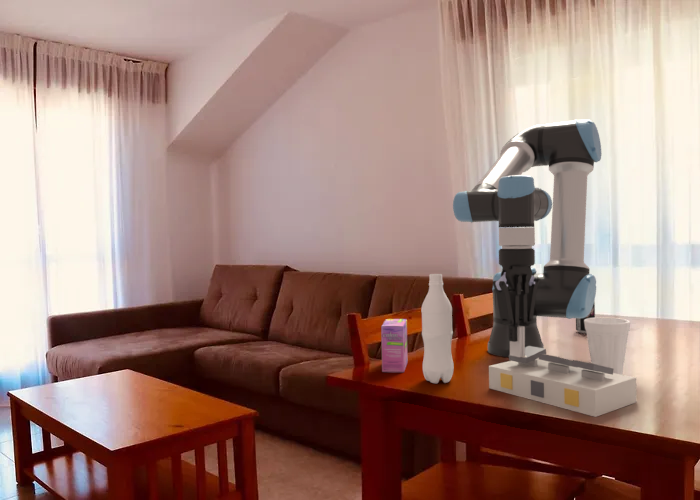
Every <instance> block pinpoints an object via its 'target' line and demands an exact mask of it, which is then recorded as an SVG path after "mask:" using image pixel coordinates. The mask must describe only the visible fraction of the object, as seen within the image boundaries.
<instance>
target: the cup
mask: <svg viewBox="0 0 700 500" xmlns="http://www.w3.org/2000/svg"><path fill="white" fill-rule="evenodd" d="M584 324H585V329H586V333H585V334H586V338H587V344H588V345H587V346H588V350H589V355H590V356H589V357H590V363H593V364H596V365H600V366H604V367H609V368H613V369H614V370H613V373H616V374H621V375H623V372H624V364H625V357H626V350H627V344H628V337H629V332H630V327H631V321H630V320H628V319H625V318H619V317H605V316H604V317H603V316H601V317H600V316H598V317H596V316H595V318H587V319H585V320H584Z"/></svg>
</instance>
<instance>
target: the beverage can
mask: <svg viewBox="0 0 700 500" xmlns="http://www.w3.org/2000/svg"><path fill="white" fill-rule="evenodd" d="M595 300H596V299H595ZM595 300H594V304H593V307H592V310H591V312H590V313H589V315H588V316H586V317H585V318H575V330H576V331H577V332H578V333H580V334H587V333H586V329H585V324H584V320H585V319H587V318H595V317H596V309H595V308H596V306H595V305H596V302H595Z"/></svg>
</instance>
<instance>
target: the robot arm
mask: <svg viewBox="0 0 700 500" xmlns="http://www.w3.org/2000/svg"><path fill="white" fill-rule="evenodd" d="M601 159H602V145H601V137H600V134H599V130H598V127H597V125H596V124H595V122H594V121H593V120H591V119H574V120H568V121H560V122H559V121H558V122H553V123H544V124H543V123H542V124H536V125H535V124H534V125H533V126H530V127H528V128H526V129H523V130H522V131H520V132H518V133H517V134H516V135H514V136H513V137H512V138H510V139H509V140H507V142H506V143H505V144H504V146H503V147H502V148H501V150H500V153H499V157H498V158H497V159H496V161H494V163H493V164H492V165H491V167H490V168H489V169H488V170H487V171H486V173H485V174H484V175H483V176H482V177H481V179H479V181H478V182H477V183H476V185H475V186H474V187H473V188H472V189H471V190H464V191H458V192H457V193H456V194H455V195H454V197H453V200H452V201H453V203H452V210H453V215H454V216H455V219H456V220H457V221H459V222H461V223H462V222H463V223H471V224H472V223H478V222H479V223H481V222H482V223H483V222H498V245H499V246H500V247H501V248H499V250H498V264H499V266H501V267H502V269H501V271H500V272H496V273H495V274H494V276H493V277H492V288H491V289H492V309H493V310H492V313H493V316H492V317H493V325H492V329H491V331H490V334H489V340H488V342H487V353H488V354H491V355H494V356H498V357H504V358H505V357H506V358H509V355H511V356H516V357H524V356H525V347H527V346H532V347H538V348H544V342H543V341H542V338H541V334H540V330H539V327H538V325H537V317H543V318H544V317H546V318H548V317H549V318H559V319H560V318H562V319H569V320H570V319H571V320H572V319H576V318H585V317H586V316H588V315H589V313H590V312H591V310H592V307H593V304H594V300H596V293H597V278H596V276H595V275H593V274H592V273H590V268H589V266H588V265H587V264H586V263H585V240H586V238H585V236H586V219H587V218H586V214H587V213H586V212H587V194H588V193H587V192H588V190H587V189H588V176H589V175H590V174H591V173H592V172H593V171H594V166H595V165H594V164H595V163H598V162H601ZM542 166H545V167H547V166H548V171H549V172H550V173H552V175H553V187H552V188H553V190H552V191H553V192H552V193H553V194H552V197H551V195H550V194H549V193H548V192H547V191H546V190H544V189H542V188H539V187H536V186H535V180H534V177H533V176H531V175H522V174H523V173H526V172H527V171H529V170H530V169H531V168H533V167H542ZM551 211H552V213H551ZM550 213H551V231H550V251H549V261H547V263H545V264H544V265H543V270H542V271H543V272H542V273H537V270H536V268H535V267H531V266H534V265H535V264H536V263H535V261H536V260H535V257H536V256H535V253H536V251H535V249H534V248H533V246H535V244H536V242H535V241H536V236H535V234H536V233H535V231H536V230H535V222H538V221H539V220H540V221H541V220H543V219H545V218H546V217H547V216H548V215H550ZM544 349H545V348H544Z"/></svg>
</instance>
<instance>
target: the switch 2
mask: <svg viewBox="0 0 700 500" xmlns="http://www.w3.org/2000/svg"><path fill="white" fill-rule="evenodd" d="M539 359H540V360H544V361H548V362H553V363H557V364H562V365H567V366H572V363H573V359H572V360H571V359H567V358H564V357H560V356H556V355H551V354H547V353H546V354H540V355H539ZM572 367H574V366H572Z"/></svg>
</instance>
